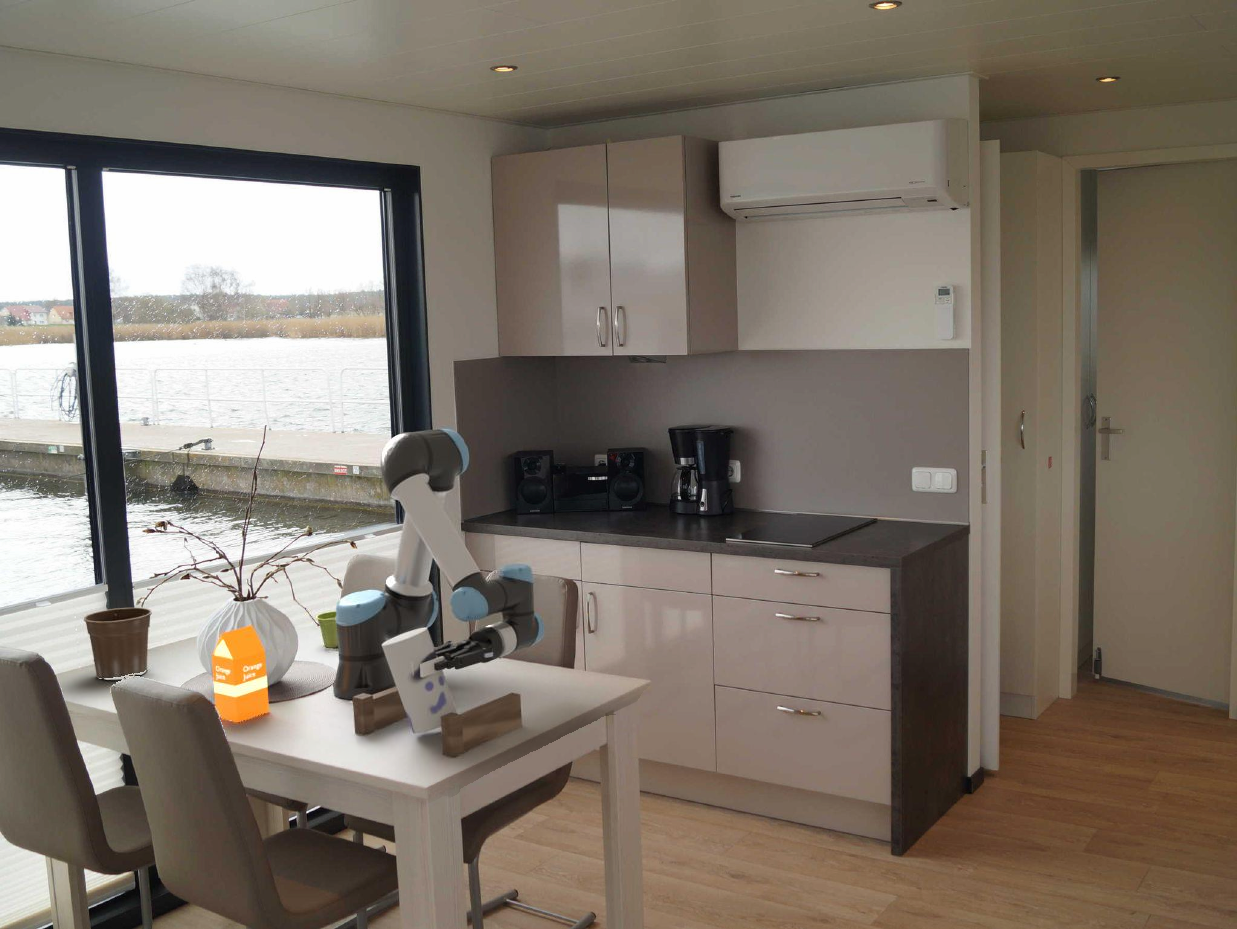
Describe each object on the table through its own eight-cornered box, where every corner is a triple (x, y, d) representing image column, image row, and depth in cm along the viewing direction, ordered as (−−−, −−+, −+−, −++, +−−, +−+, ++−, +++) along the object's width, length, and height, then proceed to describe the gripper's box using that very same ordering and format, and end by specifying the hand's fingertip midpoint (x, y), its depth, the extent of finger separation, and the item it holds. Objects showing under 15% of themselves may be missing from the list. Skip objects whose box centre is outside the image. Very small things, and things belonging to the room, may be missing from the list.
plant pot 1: (155, 662, 307) (150, 603, 305) (158, 677, 292) (153, 616, 291) (89, 671, 300) (83, 611, 299) (88, 687, 286) (83, 624, 284)
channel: (354, 733, 244) (352, 696, 243) (426, 705, 262) (424, 671, 261) (453, 757, 227) (451, 718, 227) (522, 726, 245) (521, 689, 244)
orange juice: (215, 717, 258) (209, 631, 256) (248, 706, 265) (242, 623, 263) (237, 723, 254) (231, 635, 251) (270, 712, 261) (264, 626, 259)
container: (441, 729, 233) (408, 638, 232) (404, 737, 238) (372, 648, 237) (467, 711, 242) (435, 623, 241) (430, 719, 247) (399, 632, 246)
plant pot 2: (343, 650, 313) (341, 619, 312) (312, 649, 315) (310, 618, 314) (358, 641, 322) (356, 611, 321) (327, 640, 324) (325, 610, 323)
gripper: (518, 663, 249) (444, 692, 230) (466, 654, 258) (391, 682, 238) (517, 630, 248) (442, 656, 229) (465, 622, 257) (389, 647, 237)
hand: (416, 669), depth 234 cm, fingers closed on container, 2 cm apart
